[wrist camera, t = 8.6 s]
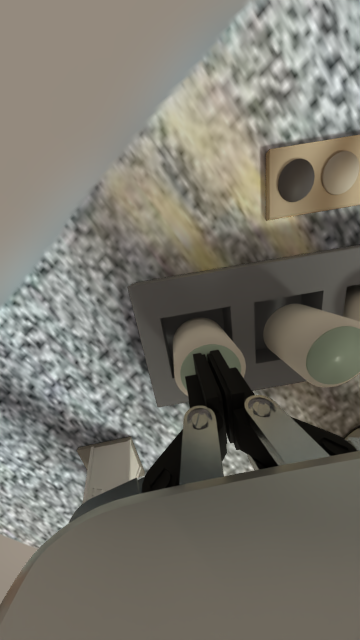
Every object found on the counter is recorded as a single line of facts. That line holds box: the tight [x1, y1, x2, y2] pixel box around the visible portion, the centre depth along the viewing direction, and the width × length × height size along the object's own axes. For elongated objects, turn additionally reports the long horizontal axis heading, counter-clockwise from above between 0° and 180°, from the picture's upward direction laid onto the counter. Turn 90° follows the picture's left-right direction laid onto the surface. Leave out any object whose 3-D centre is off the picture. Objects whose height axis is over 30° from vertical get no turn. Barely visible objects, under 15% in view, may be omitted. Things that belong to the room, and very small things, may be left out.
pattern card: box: [266, 135, 360, 221], centre depth 15 cm, size 12×5×1 cm, turn 99°
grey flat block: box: [128, 245, 360, 407], centre depth 17 cm, size 26×12×4 cm, turn 99°
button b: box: [263, 304, 360, 388], centre depth 13 cm, size 5×5×5 cm
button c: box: [173, 318, 246, 396], centre depth 14 cm, size 5×5×5 cm
